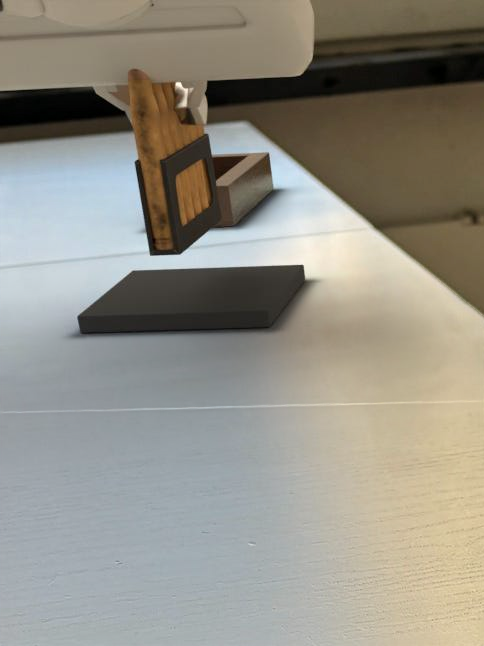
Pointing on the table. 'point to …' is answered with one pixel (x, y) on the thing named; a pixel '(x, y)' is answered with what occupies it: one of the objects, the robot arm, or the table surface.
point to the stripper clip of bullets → (171, 169)
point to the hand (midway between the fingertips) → (171, 116)
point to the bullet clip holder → (241, 183)
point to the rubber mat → (194, 299)
